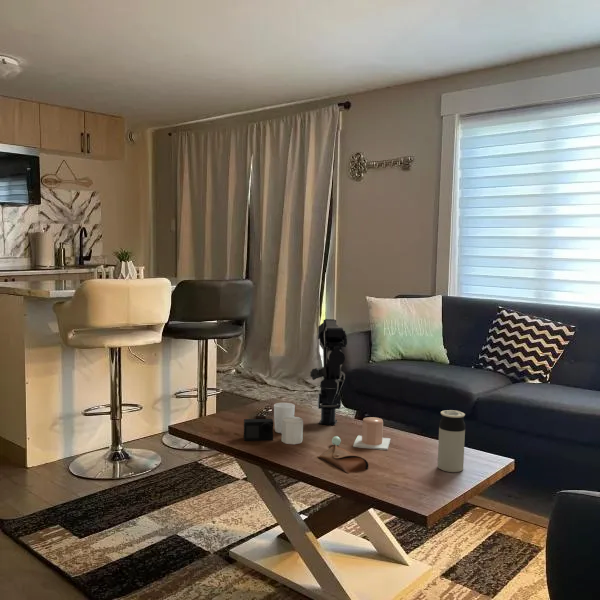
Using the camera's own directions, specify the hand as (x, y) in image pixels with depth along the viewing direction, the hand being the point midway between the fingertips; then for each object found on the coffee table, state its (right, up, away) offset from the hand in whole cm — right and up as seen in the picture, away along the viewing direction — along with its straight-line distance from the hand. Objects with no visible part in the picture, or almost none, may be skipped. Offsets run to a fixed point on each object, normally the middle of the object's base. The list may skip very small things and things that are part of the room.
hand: (332, 402), depth 227 cm
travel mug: (+36, -16, -33) cm, 51 cm away
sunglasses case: (+1, -15, -30) cm, 34 cm away
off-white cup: (-15, -12, -9) cm, 21 cm away
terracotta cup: (+14, -13, -9) cm, 21 cm away
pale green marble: (+1, -13, -13) cm, 18 cm away
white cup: (-18, -12, +3) cm, 22 cm away
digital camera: (-27, -12, -8) cm, 31 cm away
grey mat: (+14, -13, -9) cm, 21 cm away
